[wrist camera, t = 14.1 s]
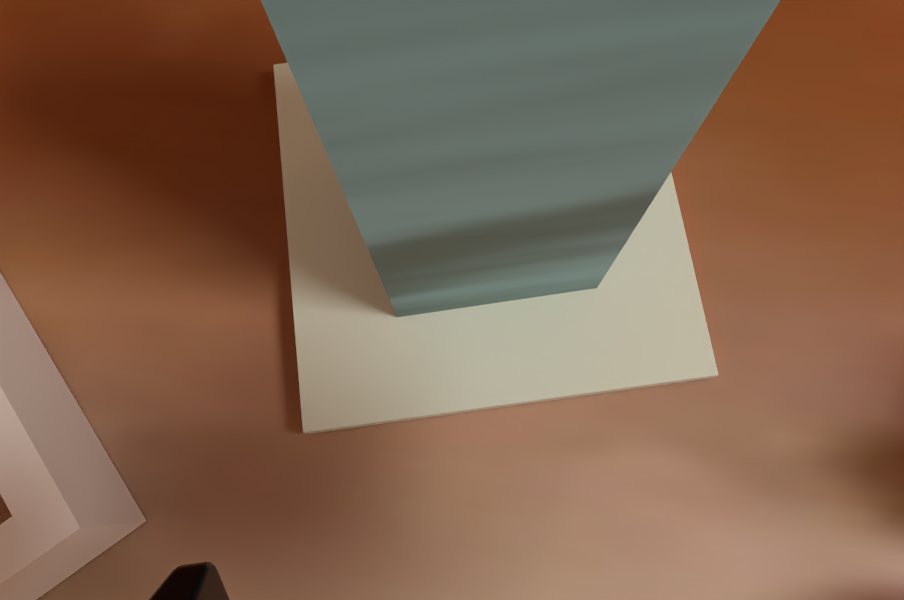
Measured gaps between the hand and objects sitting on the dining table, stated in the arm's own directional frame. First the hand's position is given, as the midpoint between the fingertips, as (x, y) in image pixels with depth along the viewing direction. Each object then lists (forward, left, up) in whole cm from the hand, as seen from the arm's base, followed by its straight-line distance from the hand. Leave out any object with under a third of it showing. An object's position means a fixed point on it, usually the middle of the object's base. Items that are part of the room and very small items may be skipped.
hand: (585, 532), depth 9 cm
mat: (+6, +5, -8) cm, 11 cm away
